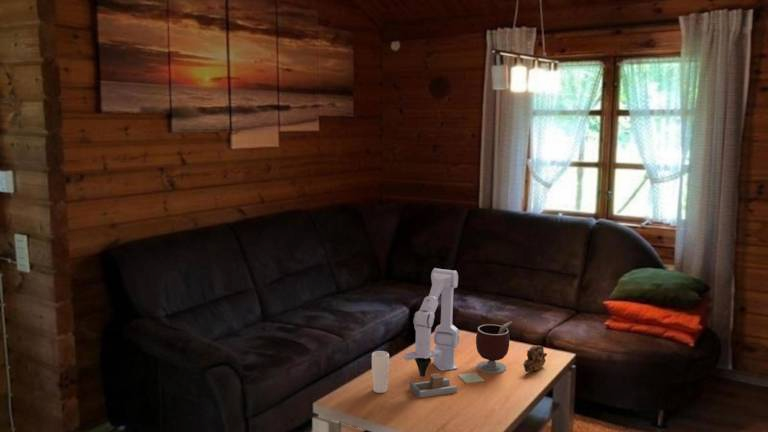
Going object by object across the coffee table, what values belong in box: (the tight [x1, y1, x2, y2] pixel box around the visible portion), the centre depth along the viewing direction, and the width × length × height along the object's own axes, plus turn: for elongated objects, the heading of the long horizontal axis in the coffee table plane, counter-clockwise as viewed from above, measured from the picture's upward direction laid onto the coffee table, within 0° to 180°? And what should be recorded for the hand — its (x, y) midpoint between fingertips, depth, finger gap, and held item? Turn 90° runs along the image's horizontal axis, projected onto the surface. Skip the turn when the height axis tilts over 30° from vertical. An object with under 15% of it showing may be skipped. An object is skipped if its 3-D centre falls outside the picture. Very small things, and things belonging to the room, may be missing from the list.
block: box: [428, 373, 444, 389], centre depth 245 cm, size 4×4×6 cm
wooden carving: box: [522, 345, 548, 373], centre depth 266 cm, size 16×5×10 cm, turn 143°
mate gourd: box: [475, 321, 513, 375], centre depth 266 cm, size 16×14×20 cm
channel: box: [409, 378, 458, 399], centre depth 245 cm, size 8×16×3 cm, turn 109°
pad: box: [457, 372, 485, 384], centre depth 257 cm, size 8×8×1 cm
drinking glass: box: [371, 350, 390, 394], centre depth 243 cm, size 7×7×15 cm
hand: (422, 375), depth 242 cm, fingers closed
